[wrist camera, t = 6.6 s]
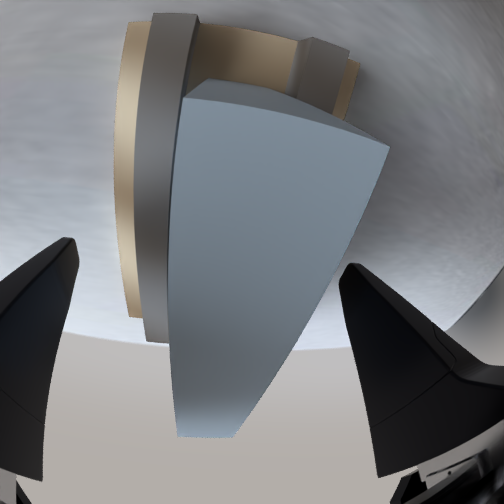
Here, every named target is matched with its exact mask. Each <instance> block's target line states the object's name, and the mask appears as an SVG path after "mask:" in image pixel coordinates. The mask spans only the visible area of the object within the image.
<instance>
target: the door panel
mask: <svg viewBox="0 0 504 504" xmlns="http://www.w3.org/2000/svg"><path fill="white" fill-rule="evenodd" d="M389 149H390V146H388V145H386V144H385V143H383V142H381V141H380V140H378V139H376V138H375V137H373V136H371V135H369V134H368V133H366V132H364V131H362V130H360V129H359V128H357V127H355V126H353V125H351V124H349V123H347V122H345V121H343V120H341V119H339V118H337V117H335V116H333V115H331V114H329V113H327V112H325V111H323V110H321V109H318V108H316V107H314V106H312V105H309V104H307V103H305V102H302V101H300V100H298V99H295V98H293V97H290V96H288V95H285V94H283V93H280V92H278V91H275V90H272V89H270V88H266V87H261V86H256V85H251V84H245V83H240V82H234V81H227V80H220V79H213V78H208V79H206V80H205V81H204V82H202V83H201V84H200V85H198V86H197V87H196V88H195V89H193V90H192V91H191V92H190V93H188V94H187V95H186V96H185V97H183V102H182V108H181V115H180V122H179V129H178V137H177V145H176V153H175V163H174V173H173V184H172V196H171V211H170V229H169V256H168V319H169V346H170V363H171V377H172V390H173V399H174V410H175V418H176V426H177V435H178V437H202V438H203V437H205V438H225V437H233V436H234V435H235V434H236V432H237V431H238V430H239V428H240V427H241V425H242V424H243V423H244V421H245V420H246V418H247V417H248V416H249V414H250V413H251V411H252V410H253V409H254V407H255V406H256V404H257V403H258V401H259V400H260V398H261V397H262V395H263V394H264V392H265V391H266V389H267V388H268V386H269V385H270V383H271V382H272V380H273V379H274V377H275V376H276V374H277V372H278V371H279V369H280V368H281V366H282V365H283V363H284V361H285V360H286V358H287V356H288V355H289V353H290V352H291V350H292V348H293V347H294V345H295V343H296V342H297V340H298V338H299V337H300V335H301V333H302V332H303V330H304V328H305V326H306V325H307V323H308V321H309V319H310V318H311V316H312V314H313V312H314V311H315V309H316V307H317V305H318V303H319V302H320V300H321V298H322V296H323V294H324V292H325V290H326V289H327V287H328V285H329V283H330V281H331V279H332V277H333V275H334V273H335V271H336V269H337V267H338V265H339V263H340V261H341V259H342V257H343V255H344V253H345V251H346V249H347V247H348V245H349V243H350V241H351V239H352V237H353V235H354V232H355V230H356V228H357V226H358V224H359V222H360V219H361V217H362V215H363V213H364V210H365V208H366V206H367V204H368V201H369V199H370V197H371V194H372V192H373V190H374V187H375V185H376V182H377V180H378V177H379V175H380V172H381V170H382V167H383V165H384V162H385V160H386V157H387V154H388V152H389Z"/></svg>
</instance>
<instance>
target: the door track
mask: <svg viewBox="0 0 504 504" xmlns="http://www.w3.org/2000/svg"><path fill="white" fill-rule="evenodd" d="M349 53H350V51H349V50H346V49H344V48H341V47H339V46H336V45H333V44H331V43H328V42H325V41H322V40H319V39H316V38H313V37H312V38H308V39H304V40H301V41H295V40H291V39H288V38H284V37H280V36H276V35H272V34H267V33H263V32H258V31H253V30H247V29H242V28H236V27H229V26H222V25H213V24H204V23H200V21H199V18H198V16H197V14H181V13H154V14H153V18H152V21H149V22H129V23H128V27H127V32H126V37H125V42H124V48H123V54H122V60H121V67H120V74H119V82H118V91H117V101H116V114H115V131H114V195H115V214H116V227H117V238H118V248H119V256H120V264H121V272H122V278H123V285H124V291H125V297H126V303H127V308H128V313H129V317H135V318H143V323H144V329H145V336H146V341H148V342H158V343H168V344H169V319H168V256H169V229H170V211H171V196H172V184H173V173H174V163H175V153H176V145H177V137H178V129H179V122H180V115H181V108H182V102H183V97H185V96H186V95H187V94H188V93H190V92H191V91H192V90H193V89H195V88H196V87H197V86H198V85H200V84H201V83H202V82H204V81H205V80H206V79H208V78H213V79H220V80H227V81H234V82H240V83H245V84H251V85H256V86H261V87H266V88H270V89H272V90H275V91H278V92H280V93H283V94H285V95H288V96H290V97H293V98H295V99H298V100H300V101H302V102H305V103H307V104H309V105H312V106H314V107H316V108H318V109H321V110H323V111H325V112H327V113H329V114H331V115H333V116H335V117H337V118H339V119H341V120H343V121H344V118H345V115H346V112H347V108H348V105H349V102H350V98H351V95H352V92H353V88H354V85H355V81H356V78H357V74H358V70H359V67H360V63H358V62H355V61H353V60H350V59H348V57H349Z"/></svg>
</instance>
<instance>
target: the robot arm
mask: <svg viewBox="0 0 504 504" xmlns="http://www.w3.org/2000/svg"><path fill="white" fill-rule="evenodd" d="M78 268H79V255H78V251H77V246H76V242H75V240H74V239H73V238H68V237H63V238H61V239H59V240H58V241H56V242H55V243H53V244H52V245H50V246H49V247H47V248H46V249H44V250H43V251H41V252H40V253H38V254H37V255H35V256H34V257H32V258H31V259H30V260H28V261H27V262H25V263H24V264H23V265H21V266H20V267H19V268H17V269H16V270H15V271H13V272H12V273H11V274H9V275H8V276H7V277H5V278H4V279H3V280H2V281H0V504H31V502H30V500H29V499H28V498H27V496H26V495H25V493H24V492H23V490H22V489H21V487H20V485H19V484H18V482H17V481H16V474H18V475H21V476H24V477H27V478H30V479H34V480H38V481H42V480H43V442H44V428H45V425H44V424H45V416H46V409H47V402H48V395H49V388H50V383H51V377H52V372H53V367H54V363H55V358H56V354H57V350H58V346H59V342H60V338H61V334H62V330H63V327H64V323H65V320H66V316H67V313H68V310H69V306H70V302H71V297H72V293H73V288H74V284H75V280H76V276H77V272H78ZM339 291H340V296H341V301H342V307H343V313H344V318H345V323H346V328H347V331H348V335H349V339H350V343H351V347H352V350H353V354H354V358H355V362H356V366H357V370H358V375H359V379H360V383H361V388H362V392H363V397H364V402H365V406H366V411H367V416H368V421H369V426H370V432H371V438H372V444H373V449H374V456H375V463H376V469H377V475H378V478H381V477H384V476H387V475H391V474H393V473H397V472H399V471H402V470H405V469H408V468H411V467H413V466H416V465H417V468H418V469H417V470H415V471H413V472H411V473H409V474H408V475H406V476H404V477H402V478H401V480H400V483H399V485H398V487H397V489H396V491H395V493H394V495H393V497H392V499H391V501H390V504H504V366H495V365H488V364H485V363H483V362H481V361H480V360H479V359H477V358H476V357H475V356H473V355H472V354H471V353H469V351H467V350H466V349H465V348H463V347H462V346H461V345H460V344H458V343H457V342H456V341H455V340H453V339H452V338H451V337H450V336H448V335H447V334H446V333H445V332H444V331H443V330H441V329H440V328H439V327H438V326H437V325H436V324H434V323H433V322H431V320H430V319H428V318H427V317H426V316H425V315H424V314H423V313H421V312H420V311H419V310H418V309H417V308H415V307H414V306H413V305H412V304H411V303H409V302H408V301H407V300H406V299H404V298H403V297H402V296H401V295H399V294H398V293H397V292H396V291H394V290H393V289H392V288H391V287H389V286H388V285H387V284H386V283H384V282H383V281H382V280H381V279H379V278H378V277H377V276H375V275H374V274H373V273H372V272H370V271H369V270H368V269H366V268H365V267H364V266H362V265H361V264H359V263H349V264H348V265H347V267H346V268H345V270H344V272H343V274H342V276H341V278H340V280H339Z"/></svg>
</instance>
